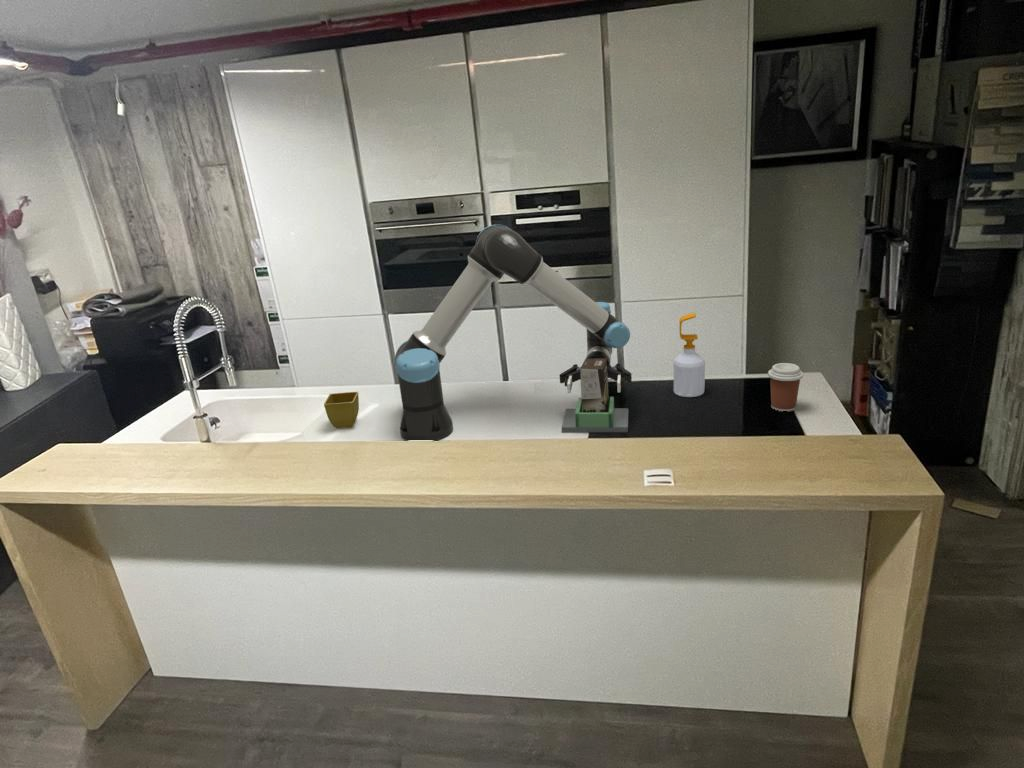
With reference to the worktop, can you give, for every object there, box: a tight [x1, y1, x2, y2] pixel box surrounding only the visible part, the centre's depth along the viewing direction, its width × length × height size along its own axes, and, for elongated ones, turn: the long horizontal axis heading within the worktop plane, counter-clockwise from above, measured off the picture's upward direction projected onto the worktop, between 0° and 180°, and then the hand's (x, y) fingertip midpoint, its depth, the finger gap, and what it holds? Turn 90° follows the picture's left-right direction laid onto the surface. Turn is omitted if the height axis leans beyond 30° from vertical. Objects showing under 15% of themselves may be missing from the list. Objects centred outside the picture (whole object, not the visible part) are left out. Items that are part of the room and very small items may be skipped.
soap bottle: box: [673, 312, 706, 398], centre depth 202 cm, size 9×9×25 cm
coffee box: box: [580, 358, 610, 413], centre depth 188 cm, size 9×6×16 cm
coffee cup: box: [767, 362, 804, 412], centre depth 188 cm, size 9×9×12 cm
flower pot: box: [323, 391, 360, 429], centre depth 203 cm, size 9×9×9 cm
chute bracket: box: [561, 396, 629, 433], centre depth 190 cm, size 18×13×6 cm
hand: (593, 388), depth 184 cm, fingers open, 13 cm apart
